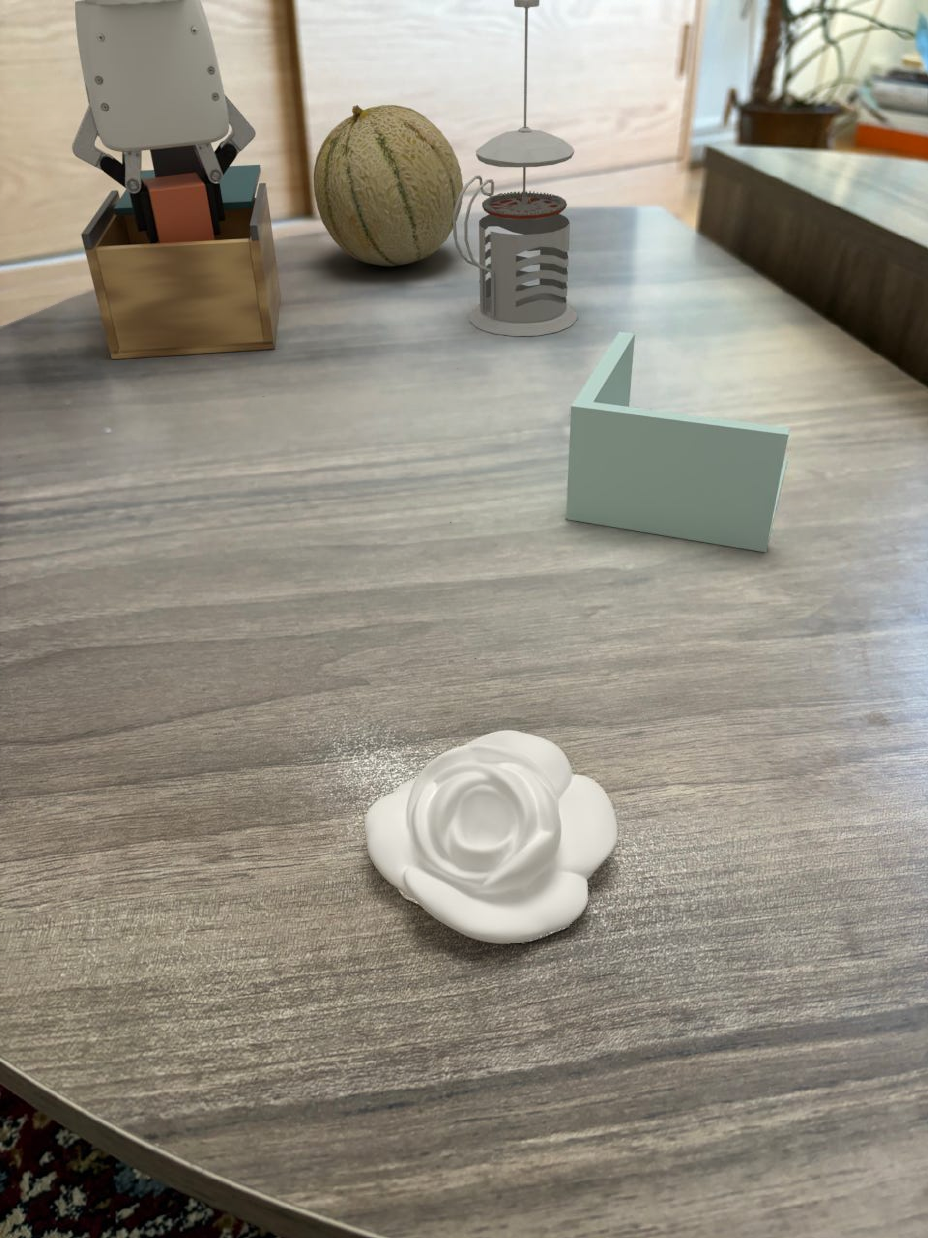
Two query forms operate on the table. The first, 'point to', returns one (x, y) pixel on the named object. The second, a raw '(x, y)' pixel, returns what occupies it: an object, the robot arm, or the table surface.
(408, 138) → the cantaloupe
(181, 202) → the block
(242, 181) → the sliding door
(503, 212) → the french press
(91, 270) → the wooden box
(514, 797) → the rose
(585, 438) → the l-shaped corner panel
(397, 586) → the table surface
